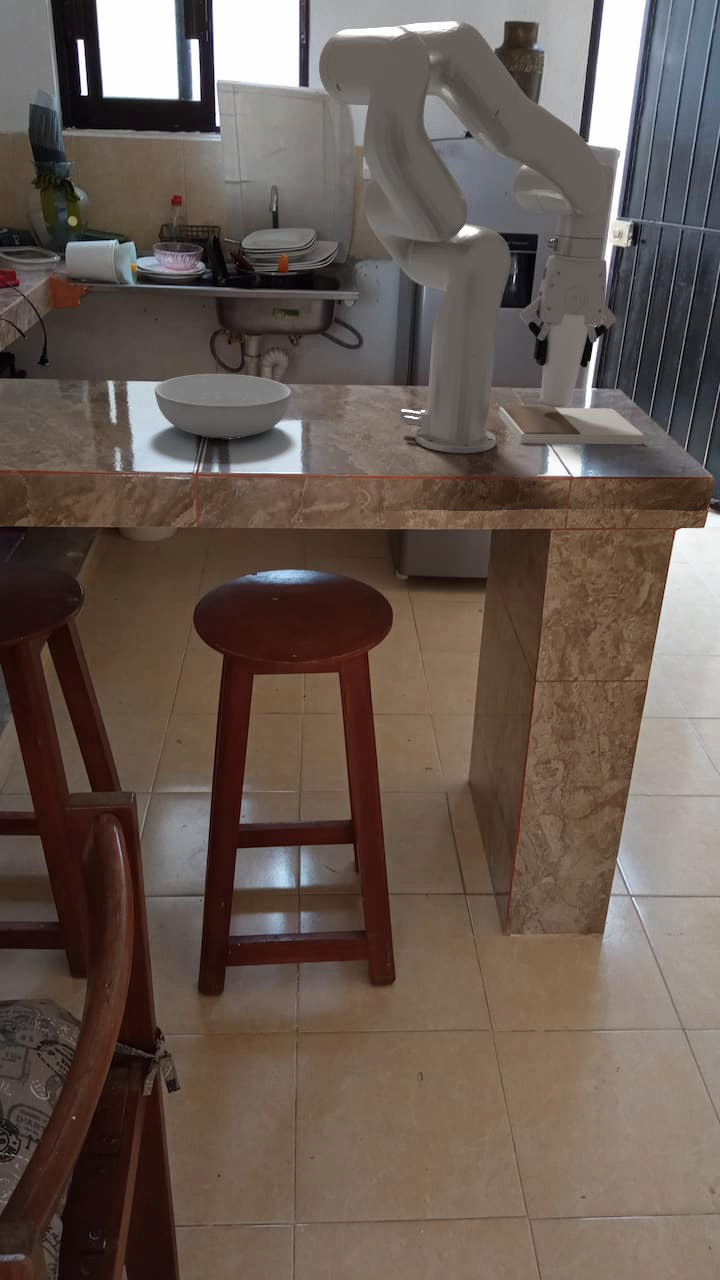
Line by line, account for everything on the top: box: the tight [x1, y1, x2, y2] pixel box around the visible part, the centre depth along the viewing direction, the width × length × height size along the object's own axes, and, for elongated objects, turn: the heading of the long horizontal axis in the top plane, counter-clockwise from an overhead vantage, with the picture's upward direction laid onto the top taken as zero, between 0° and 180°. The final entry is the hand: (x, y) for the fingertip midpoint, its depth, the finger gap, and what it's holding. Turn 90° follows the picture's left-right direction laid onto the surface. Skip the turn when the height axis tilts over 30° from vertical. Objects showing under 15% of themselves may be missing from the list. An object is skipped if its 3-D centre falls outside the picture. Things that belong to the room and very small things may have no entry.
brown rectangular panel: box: [502, 405, 580, 434], centre depth 165 cm, size 9×16×2 cm, turn 5°
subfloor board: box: [498, 406, 645, 445], centre depth 166 cm, size 20×16×2 cm
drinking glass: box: [539, 314, 588, 408], centre depth 164 cm, size 7×7×15 cm
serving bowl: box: [154, 373, 292, 440], centre depth 156 cm, size 21×21×7 cm
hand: (561, 363), depth 165 cm, fingers closed on drinking glass, 6 cm apart
